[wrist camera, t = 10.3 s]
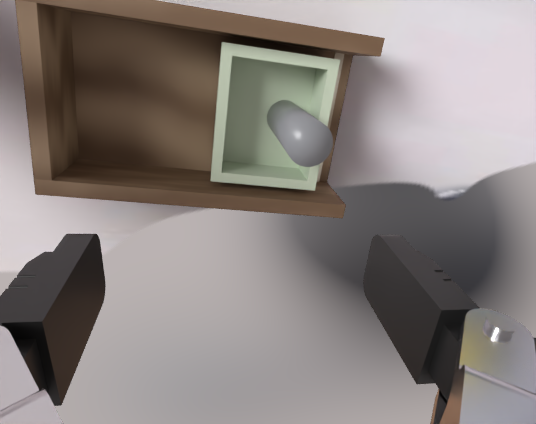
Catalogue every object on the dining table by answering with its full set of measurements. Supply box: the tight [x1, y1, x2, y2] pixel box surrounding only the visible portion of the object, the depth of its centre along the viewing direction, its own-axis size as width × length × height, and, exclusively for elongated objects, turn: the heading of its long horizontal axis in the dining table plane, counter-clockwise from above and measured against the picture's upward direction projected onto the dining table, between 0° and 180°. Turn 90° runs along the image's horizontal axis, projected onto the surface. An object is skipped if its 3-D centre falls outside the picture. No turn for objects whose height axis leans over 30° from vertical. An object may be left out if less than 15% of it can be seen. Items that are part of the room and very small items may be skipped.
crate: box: [211, 42, 340, 191], centre depth 28 cm, size 10×9×11 cm
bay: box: [15, 0, 385, 218], centre depth 30 cm, size 14×24×7 cm, turn 82°
